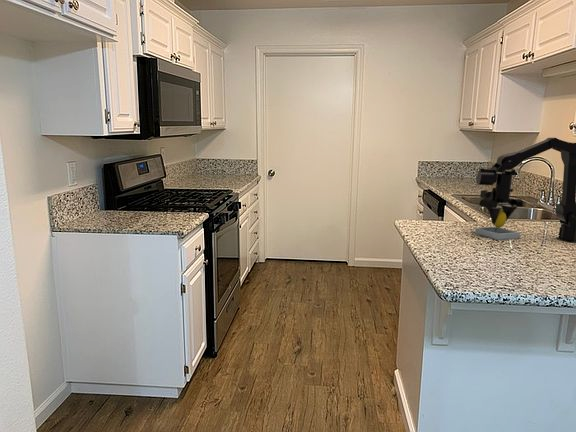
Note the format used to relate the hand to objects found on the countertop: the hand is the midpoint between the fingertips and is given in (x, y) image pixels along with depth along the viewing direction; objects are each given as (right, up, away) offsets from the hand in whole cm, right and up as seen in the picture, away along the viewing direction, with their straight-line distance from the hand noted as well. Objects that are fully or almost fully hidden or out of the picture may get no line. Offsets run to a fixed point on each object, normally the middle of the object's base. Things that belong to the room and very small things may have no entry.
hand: (498, 223), depth 186 cm
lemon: (0, -2, +1) cm, 2 cm away
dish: (0, -6, +1) cm, 6 cm away
